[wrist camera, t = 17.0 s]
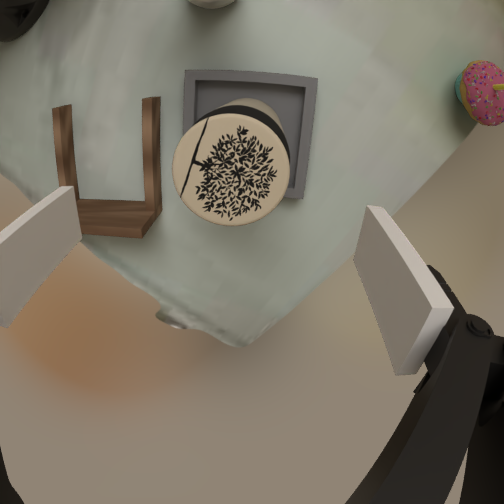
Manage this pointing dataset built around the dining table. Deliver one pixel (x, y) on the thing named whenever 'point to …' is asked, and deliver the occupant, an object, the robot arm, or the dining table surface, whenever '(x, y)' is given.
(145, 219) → the walnut dock
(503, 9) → the dining table surface
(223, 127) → the travel mug
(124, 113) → the dining table surface
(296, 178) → the charcoal tray
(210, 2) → the metal bottle
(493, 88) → the cupcake
